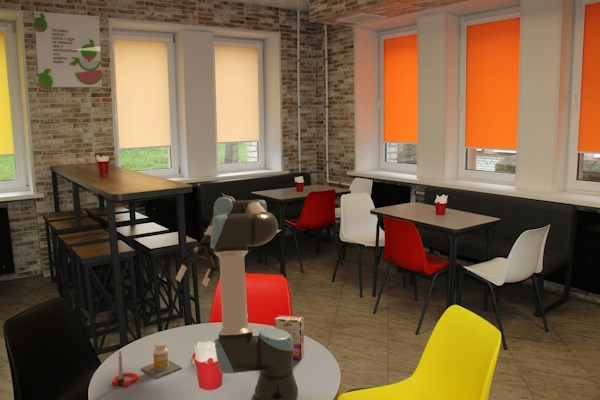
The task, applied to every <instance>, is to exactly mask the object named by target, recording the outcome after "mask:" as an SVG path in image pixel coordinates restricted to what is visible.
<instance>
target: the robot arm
mask: <svg viewBox="0 0 600 400" xmlns="http://www.w3.org/2000/svg"><path fill="white" fill-rule="evenodd" d="M267 208H268V207H267V202H266V201H265V200H264V199H251V200H250V199H249V200H246V199H245V200H232V199H230V198H228V197H226V196H222V197H221V196H220V197H218V198H217V199H216V200H215V202H214V205H213V214H212V219H211V221H210V223H209V225H208V227H207V229H206V231H205V233H204V236H203V237H202V239H201V240H200V245H199V246H197V245H195V244H194V245H192V247H191V248H190V250H188V251H187V252H186V253H185V254H184V255H183V256H182V257H181V258H180V259H179V260H178V261H177V262H178V264H179V268H178V270H177V274H176V276H175V279H176V281H177V282H181V281H182V278H183V277H184V275H185V274H186V270H187V269H188V268H187V267H188V266H189V265H191V264H192V263H194V262H195V261H197V260H199V259H205V260H207V261H208V265H209V268H208V269H207V272H206V274H205V275H204V278H203V279H202V281H201V284H202V285H203V286H204V287H207V286H208V284H209V281H210V280H211V279H212V278H213V276H214V274H215V273H216V272H217V273H219V276H220V277H219V278H220V297H221V299H220V300H221V322H222V325H221V326H222V328H221V330H219V332H218V338H216V339H214V341H213V342H214V349H215V355H216V359H217V361H216V362H217V365H218V369H219V371H220V372H221V373H222V374H225V375H226V374H233V375H234V374H235V375H236V374H238V373H248V372H257V371H259V376H258V379H257V382H256V385H255V388H254V397H255V399H256V400H297V398H298V396H299V387H298V385H297V382H296V378H295V375H294V359H293V349H294V347H293V338H292V336H291V335H290V334H289V333H288V332H286V331H284V330H282V329H277V328H275V327H268V328H267V327H265V328H262V329H261V330H260V331H259V333H258V335H254V334H253V330H252V329H251V328H250V327H249V326H248V324H249V323H248V317H247V315H248V309H247V308H248V306H247V305H248V304H247V289H246V270H245V269H246V266H245V256H246V255H247V254H248V252H249V247H257V246H258V247H259V246H261V245H264V244H267V243H268V242H270V241H271V240H272V239H273V238H274V237H275V236H276V235H277V233H278V229H279V223H278V220H277V218H276V216H275V215H274V214H273V213H271V212H269V211H268V209H267ZM213 256H214V258H213Z"/></svg>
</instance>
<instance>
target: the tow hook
mask: <svg viewBox="0 0 600 400" xmlns="http://www.w3.org/2000/svg"><path fill="white" fill-rule="evenodd" d="M117 360H118V373H117V375H116V376H114V379H113V380H112V381H111V386H118V387H130V386H131V384H133V383H135V382H137V381H138V380H139V375H138V374H137V373H134V372H123V357H122V351H120V350H119V351H118V359H117ZM125 377H131V379H128V380H126V381H125Z"/></svg>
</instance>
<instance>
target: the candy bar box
mask: <svg viewBox="0 0 600 400" xmlns="http://www.w3.org/2000/svg"><path fill="white" fill-rule="evenodd" d="M304 321H305V319H304V316H294V315H293V316H292V315H282V314H281V315H279V314H278V315H277V316H276V317H275V318H274V328H277V329H282V330H284V331H286V332H288V333H289V334H290V335H291V336H292V338H293V347H294V349H293V360H297V361H298V360H299V361H301V360H302V359H303V357H304V354H305V335H304V334H305V329H304V328H305V326H304Z"/></svg>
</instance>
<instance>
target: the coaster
mask: <svg viewBox="0 0 600 400" xmlns="http://www.w3.org/2000/svg"><path fill="white" fill-rule="evenodd" d="M168 364H169V366H168V368H167V369H165V370H156V369H155V368H154V362H152V363H151V364H148V365H145V366H142V367H141V368H140V369H141V370H142V371H144V372H145V373H147V374H149V375H150V376H151V377H153V378H154V379H156V380H157V379H161V378H163V377H165V376H167V375H170V374H172V373H175V372H177V371H181V370H182V368H183V367H182V366H180V365H178V364H177V363H175V362H173V361H172V360H169V359H168Z"/></svg>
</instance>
